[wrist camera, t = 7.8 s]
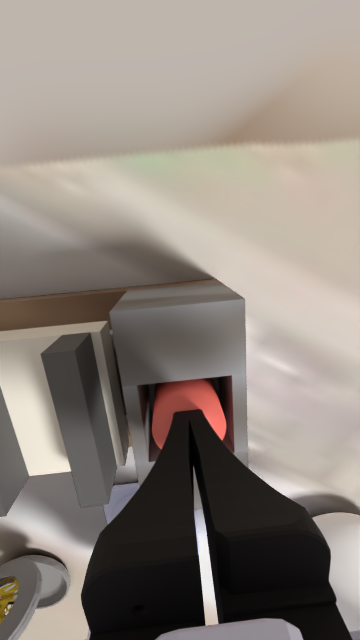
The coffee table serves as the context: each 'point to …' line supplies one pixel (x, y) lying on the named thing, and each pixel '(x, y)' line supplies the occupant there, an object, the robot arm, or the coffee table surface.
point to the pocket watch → (29, 591)
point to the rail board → (158, 349)
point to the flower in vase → (344, 562)
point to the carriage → (60, 410)
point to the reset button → (185, 405)
